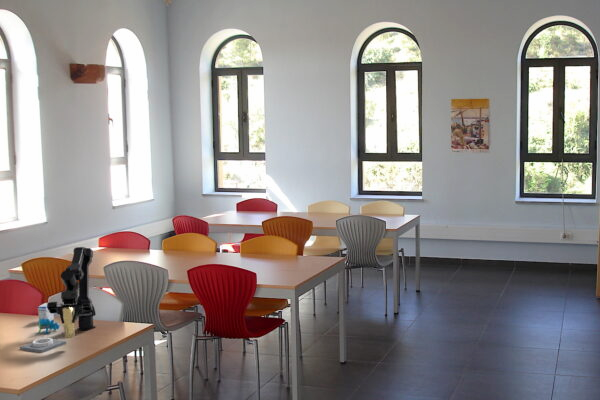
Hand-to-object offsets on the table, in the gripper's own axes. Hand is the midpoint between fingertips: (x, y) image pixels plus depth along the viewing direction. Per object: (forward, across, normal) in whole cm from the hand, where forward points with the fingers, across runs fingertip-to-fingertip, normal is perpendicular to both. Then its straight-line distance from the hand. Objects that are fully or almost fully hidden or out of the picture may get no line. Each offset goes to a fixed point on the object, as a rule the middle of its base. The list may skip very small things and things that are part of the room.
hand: (68, 323), depth 339 cm
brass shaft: (+4, 0, +6) cm, 7 cm away
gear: (-15, -18, +32) cm, 40 cm away
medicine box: (-30, -24, +48) cm, 61 cm away
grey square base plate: (+3, -14, +14) cm, 20 cm away
